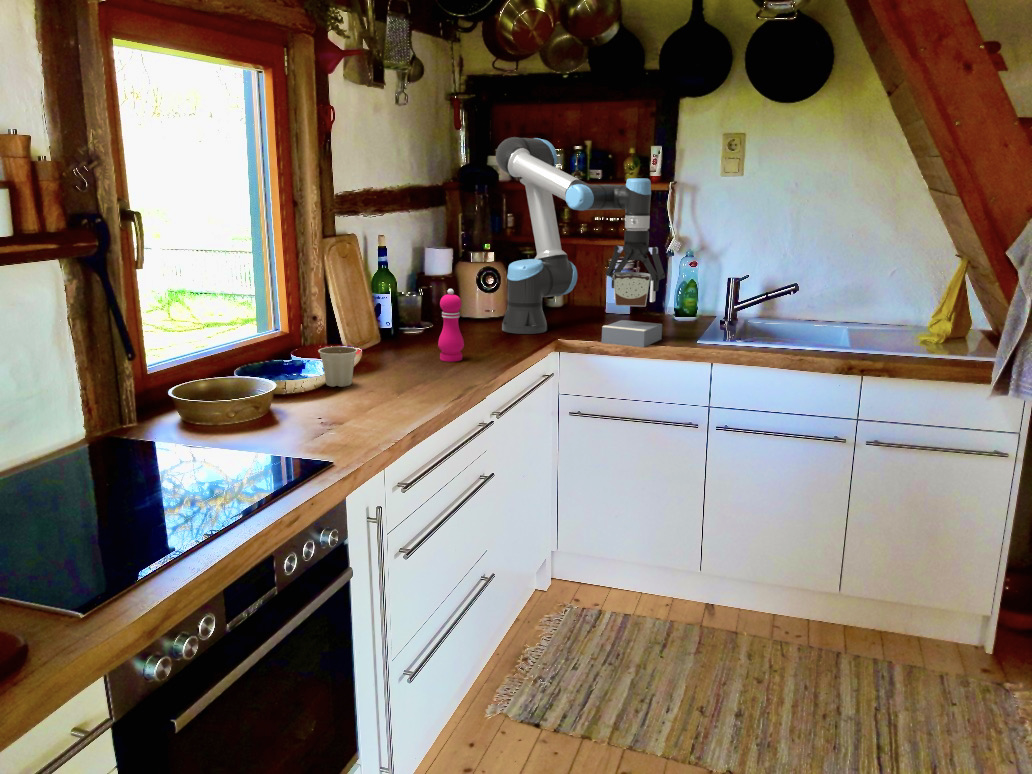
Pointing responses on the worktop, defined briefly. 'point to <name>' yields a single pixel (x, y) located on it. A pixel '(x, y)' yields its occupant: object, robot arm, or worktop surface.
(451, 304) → the pepper mill
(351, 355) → the flower pot
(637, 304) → the food container
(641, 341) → the block
